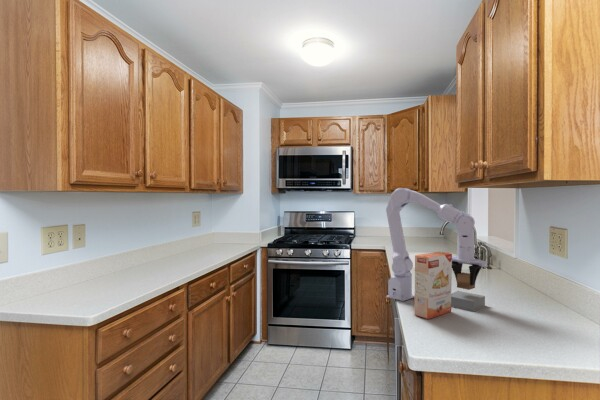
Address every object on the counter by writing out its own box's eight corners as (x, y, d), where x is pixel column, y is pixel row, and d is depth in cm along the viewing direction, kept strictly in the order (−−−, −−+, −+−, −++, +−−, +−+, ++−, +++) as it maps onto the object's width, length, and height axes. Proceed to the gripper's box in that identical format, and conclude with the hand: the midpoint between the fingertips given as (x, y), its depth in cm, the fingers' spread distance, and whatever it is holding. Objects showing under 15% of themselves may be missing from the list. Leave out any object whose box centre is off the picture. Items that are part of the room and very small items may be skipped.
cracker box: (429, 320, 119) (429, 257, 118) (413, 315, 123) (413, 254, 123) (452, 312, 127) (452, 252, 126) (437, 307, 132) (437, 250, 131)
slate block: (474, 312, 127) (474, 301, 127) (446, 306, 134) (446, 295, 134) (484, 306, 134) (484, 295, 134) (458, 300, 141) (458, 290, 141)
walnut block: (469, 289, 131) (469, 276, 131) (456, 287, 134) (456, 274, 134) (475, 287, 134) (475, 274, 134) (462, 285, 137) (462, 272, 137)
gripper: (490, 248, 131) (490, 285, 131) (452, 244, 142) (452, 278, 142) (482, 250, 126) (482, 288, 126) (443, 245, 137) (443, 281, 138)
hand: (465, 283), depth 134 cm, fingers closed on walnut block, 5 cm apart
